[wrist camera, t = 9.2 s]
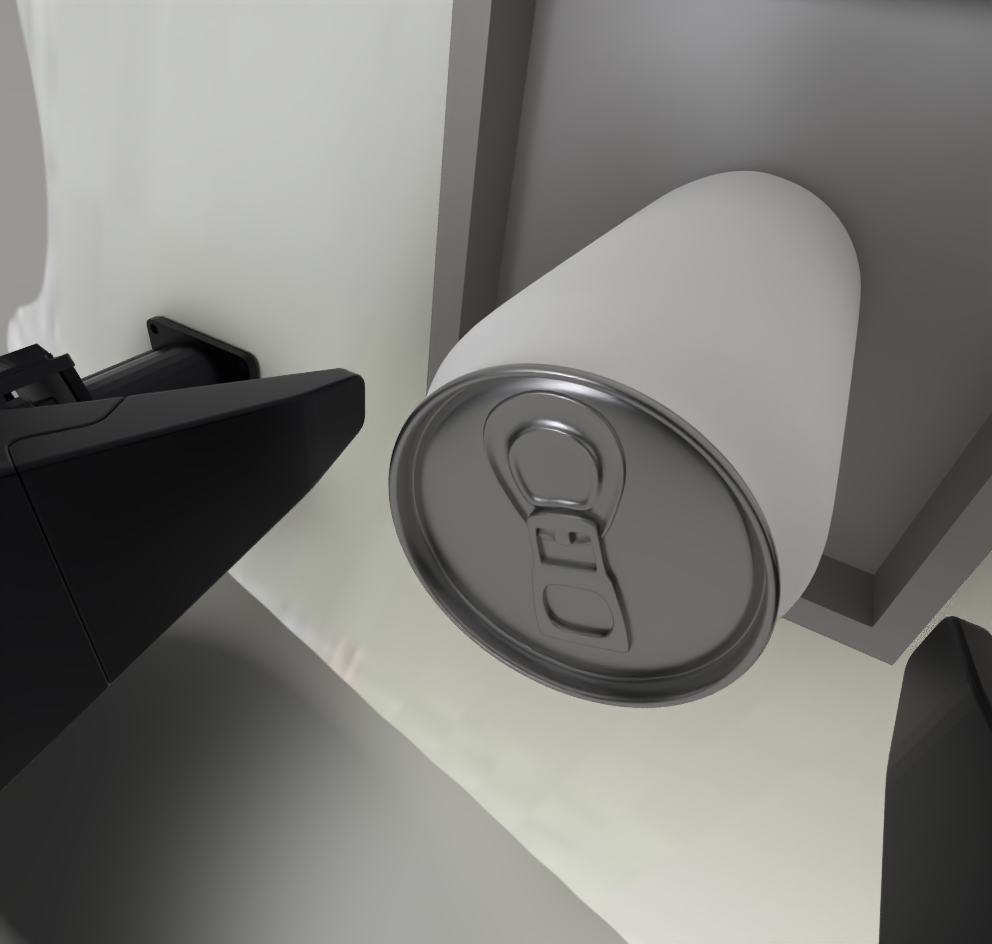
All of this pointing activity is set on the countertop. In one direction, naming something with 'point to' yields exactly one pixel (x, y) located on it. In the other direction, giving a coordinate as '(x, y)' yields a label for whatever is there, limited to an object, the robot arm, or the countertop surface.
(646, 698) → the can
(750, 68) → the tray
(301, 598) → the countertop surface
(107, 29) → the countertop surface
